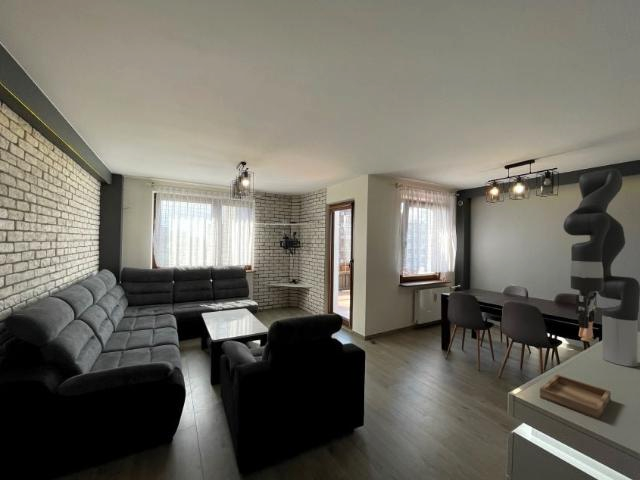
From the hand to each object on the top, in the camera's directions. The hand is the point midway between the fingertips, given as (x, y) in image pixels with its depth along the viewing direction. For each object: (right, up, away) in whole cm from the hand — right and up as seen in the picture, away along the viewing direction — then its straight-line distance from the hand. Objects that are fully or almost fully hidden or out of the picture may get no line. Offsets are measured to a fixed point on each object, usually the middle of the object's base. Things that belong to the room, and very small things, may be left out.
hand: (586, 325), depth 86 cm
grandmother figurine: (0, -5, 0) cm, 5 cm away
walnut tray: (-12, -19, -8) cm, 24 cm away
